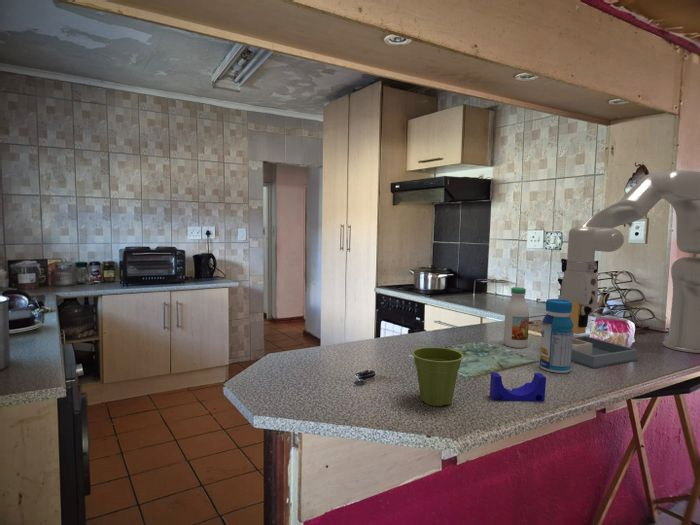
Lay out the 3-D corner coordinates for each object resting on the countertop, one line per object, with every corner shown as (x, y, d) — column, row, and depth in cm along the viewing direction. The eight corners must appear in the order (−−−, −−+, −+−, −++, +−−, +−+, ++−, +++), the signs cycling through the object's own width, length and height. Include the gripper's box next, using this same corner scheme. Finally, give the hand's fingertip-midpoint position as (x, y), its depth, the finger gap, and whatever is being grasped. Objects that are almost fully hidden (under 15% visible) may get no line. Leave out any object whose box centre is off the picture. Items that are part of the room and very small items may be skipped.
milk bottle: (501, 346, 150) (504, 288, 148) (505, 341, 156) (508, 285, 155) (526, 349, 146) (529, 290, 144) (528, 344, 153) (531, 287, 151)
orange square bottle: (574, 330, 141) (576, 292, 140) (585, 332, 137) (588, 294, 136) (565, 331, 139) (567, 293, 138) (576, 334, 136) (579, 295, 134)
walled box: (584, 345, 153) (585, 331, 152) (636, 360, 136) (638, 345, 136) (542, 351, 144) (543, 336, 144) (593, 368, 128) (594, 351, 128)
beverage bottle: (563, 376, 121) (568, 304, 119) (533, 368, 127) (537, 300, 126) (575, 369, 127) (580, 301, 125) (546, 362, 133) (550, 297, 131)
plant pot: (454, 391, 108) (456, 346, 107) (468, 411, 97) (470, 362, 96) (406, 390, 108) (408, 345, 107) (414, 411, 96) (416, 361, 95)
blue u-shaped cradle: (536, 394, 108) (537, 371, 107) (544, 402, 103) (546, 377, 103) (487, 393, 108) (488, 370, 107) (493, 401, 103) (495, 376, 103)
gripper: (613, 270, 130) (609, 330, 132) (565, 264, 145) (561, 319, 147) (596, 270, 127) (592, 332, 129) (549, 265, 142) (545, 320, 144)
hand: (576, 324), depth 138 cm, fingers closed on orange square bottle, 4 cm apart
